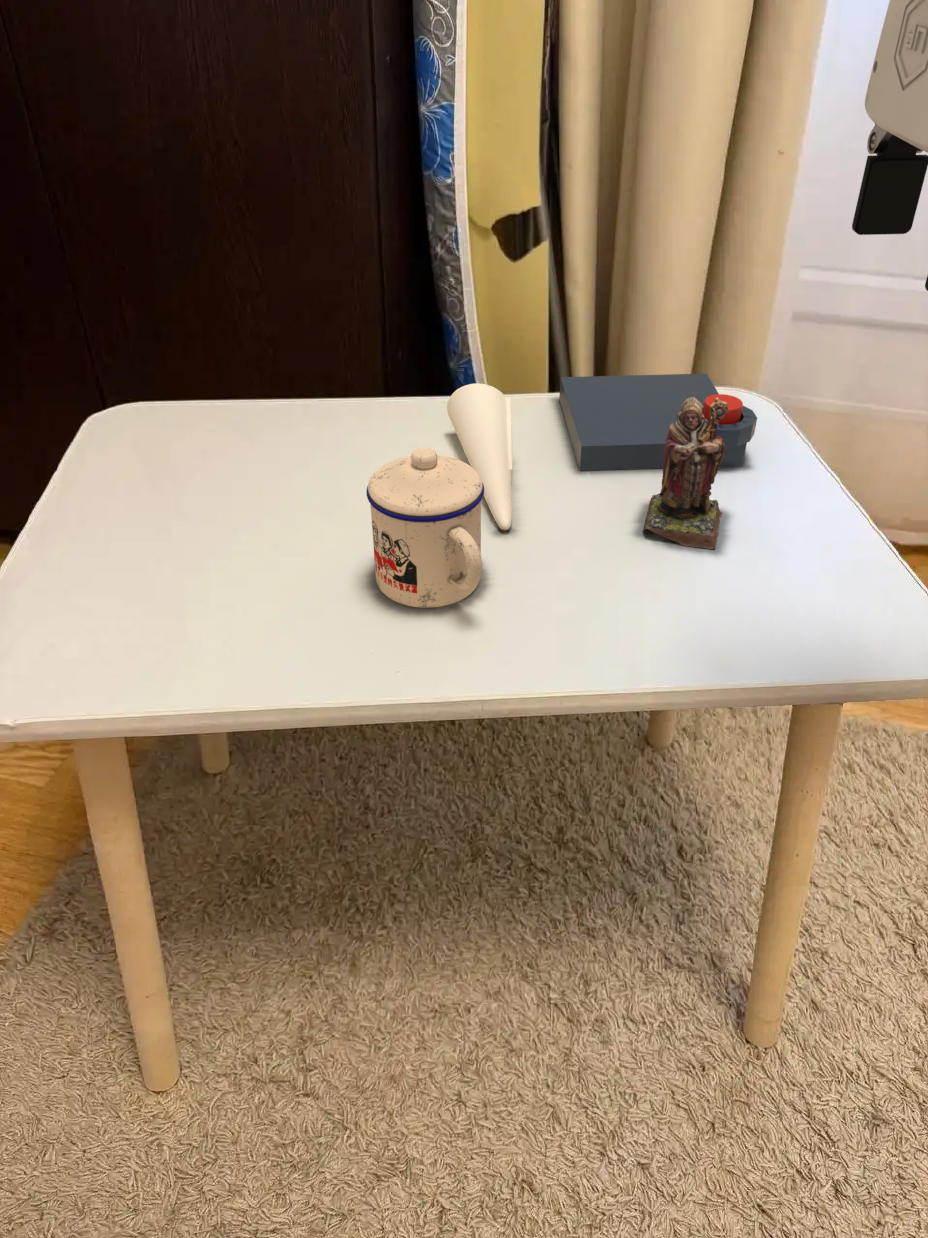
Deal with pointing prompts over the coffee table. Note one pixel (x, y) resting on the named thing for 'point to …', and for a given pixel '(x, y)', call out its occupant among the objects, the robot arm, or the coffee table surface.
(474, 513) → the teacup with lid
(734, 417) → the button
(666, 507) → the figurine
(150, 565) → the coffee table surface
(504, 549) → the coffee table surface
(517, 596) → the coffee table surface
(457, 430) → the long cone
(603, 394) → the button box
